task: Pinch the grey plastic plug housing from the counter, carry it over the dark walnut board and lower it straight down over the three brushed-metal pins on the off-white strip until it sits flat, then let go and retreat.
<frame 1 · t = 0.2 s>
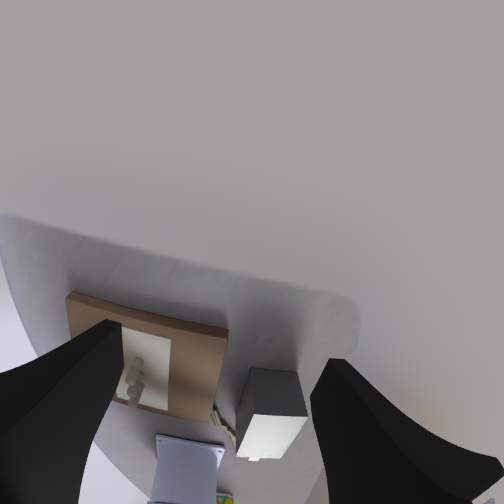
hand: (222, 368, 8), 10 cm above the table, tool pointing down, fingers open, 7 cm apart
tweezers: (230, 427, 24), on the table
pin board: (143, 363, 20), on the table
plug housing: (264, 396, 22), on the table
supplement bottle: (218, 494, 32), on the table
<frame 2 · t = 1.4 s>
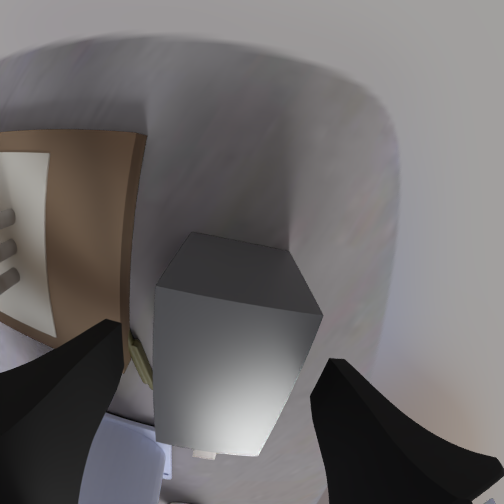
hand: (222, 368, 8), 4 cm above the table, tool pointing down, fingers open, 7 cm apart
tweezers: (176, 394, 14), on the table
pin board: (27, 239, 10), on the table
plug housing: (225, 315, 12), on the table
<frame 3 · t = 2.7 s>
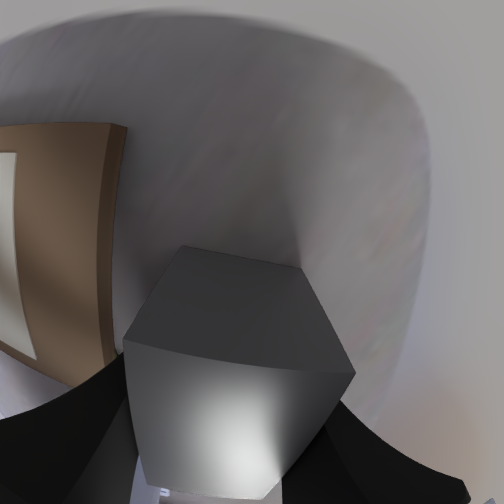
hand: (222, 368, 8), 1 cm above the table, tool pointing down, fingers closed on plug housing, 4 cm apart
pin board: (2, 250, 8), on the table
plug housing: (224, 343, 10), on the table, touching gripper
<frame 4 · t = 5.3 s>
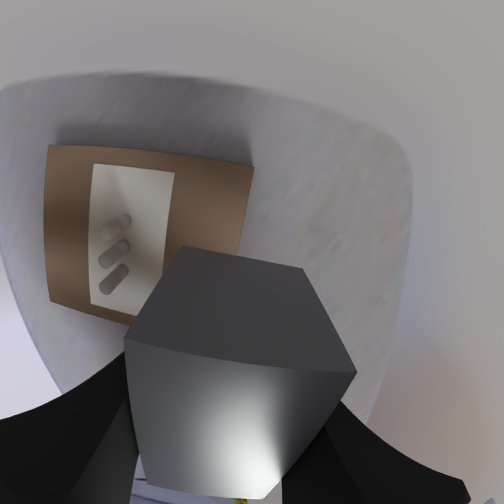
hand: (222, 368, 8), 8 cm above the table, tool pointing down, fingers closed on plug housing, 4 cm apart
pin board: (131, 240, 16), on the table
plug housing: (224, 342, 10), point 7 cm above the table, touching gripper
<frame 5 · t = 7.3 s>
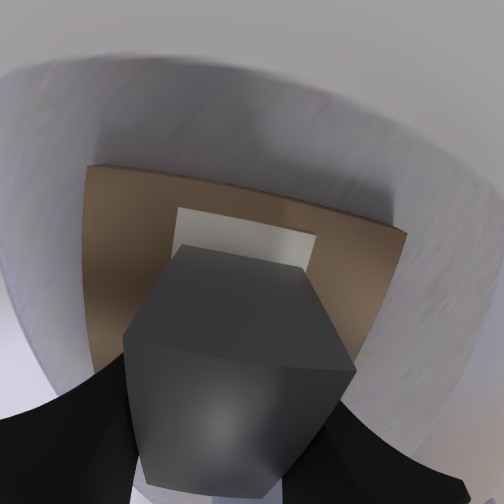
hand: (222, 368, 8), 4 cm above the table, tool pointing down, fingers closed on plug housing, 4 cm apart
pin board: (226, 312, 12), on the table
plug housing: (224, 342, 10), point 2 cm above the table, touching gripper
when the fingers open (4 cm above the table, at t = 7.8 s): plug housing stays where it is, resting on pin board.
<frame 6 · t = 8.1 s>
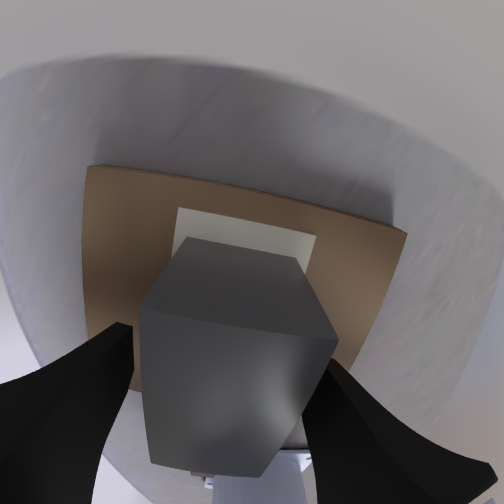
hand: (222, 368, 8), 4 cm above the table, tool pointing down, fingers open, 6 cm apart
pin board: (226, 312, 12), on the table
plug housing: (224, 327, 11), point 1 cm above the table, touching pin board
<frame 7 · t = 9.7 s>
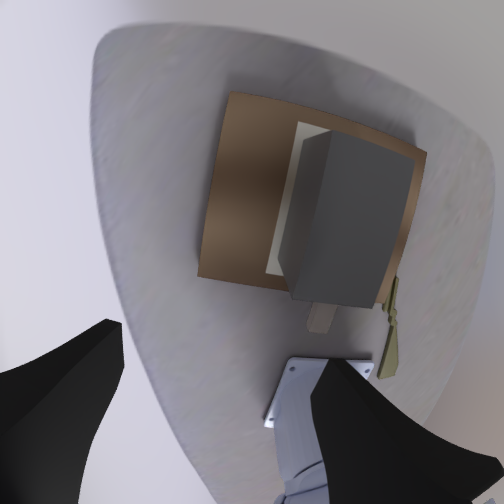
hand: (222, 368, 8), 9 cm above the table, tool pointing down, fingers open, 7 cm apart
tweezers: (389, 322, 20), on the table
pin board: (318, 204, 16), on the table
plug housing: (323, 207, 15), point 1 cm above the table, touching pin board
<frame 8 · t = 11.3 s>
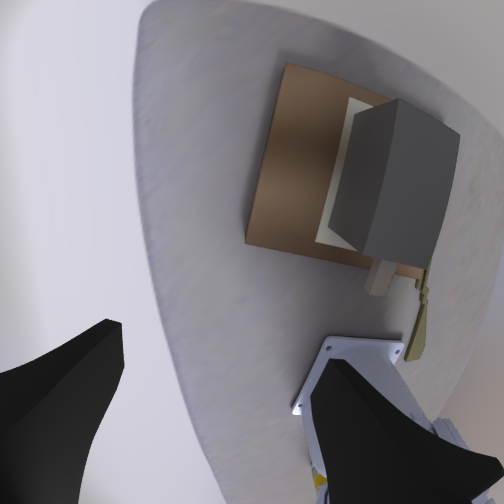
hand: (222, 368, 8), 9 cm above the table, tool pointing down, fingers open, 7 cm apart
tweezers: (419, 302, 20), on the table
pin board: (362, 178, 16), on the table
plug housing: (371, 179, 15), point 1 cm above the table, touching pin board
supplement bottle: (329, 460, 27), on the table
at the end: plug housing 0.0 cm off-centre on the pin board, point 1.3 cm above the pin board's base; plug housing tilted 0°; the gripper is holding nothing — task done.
